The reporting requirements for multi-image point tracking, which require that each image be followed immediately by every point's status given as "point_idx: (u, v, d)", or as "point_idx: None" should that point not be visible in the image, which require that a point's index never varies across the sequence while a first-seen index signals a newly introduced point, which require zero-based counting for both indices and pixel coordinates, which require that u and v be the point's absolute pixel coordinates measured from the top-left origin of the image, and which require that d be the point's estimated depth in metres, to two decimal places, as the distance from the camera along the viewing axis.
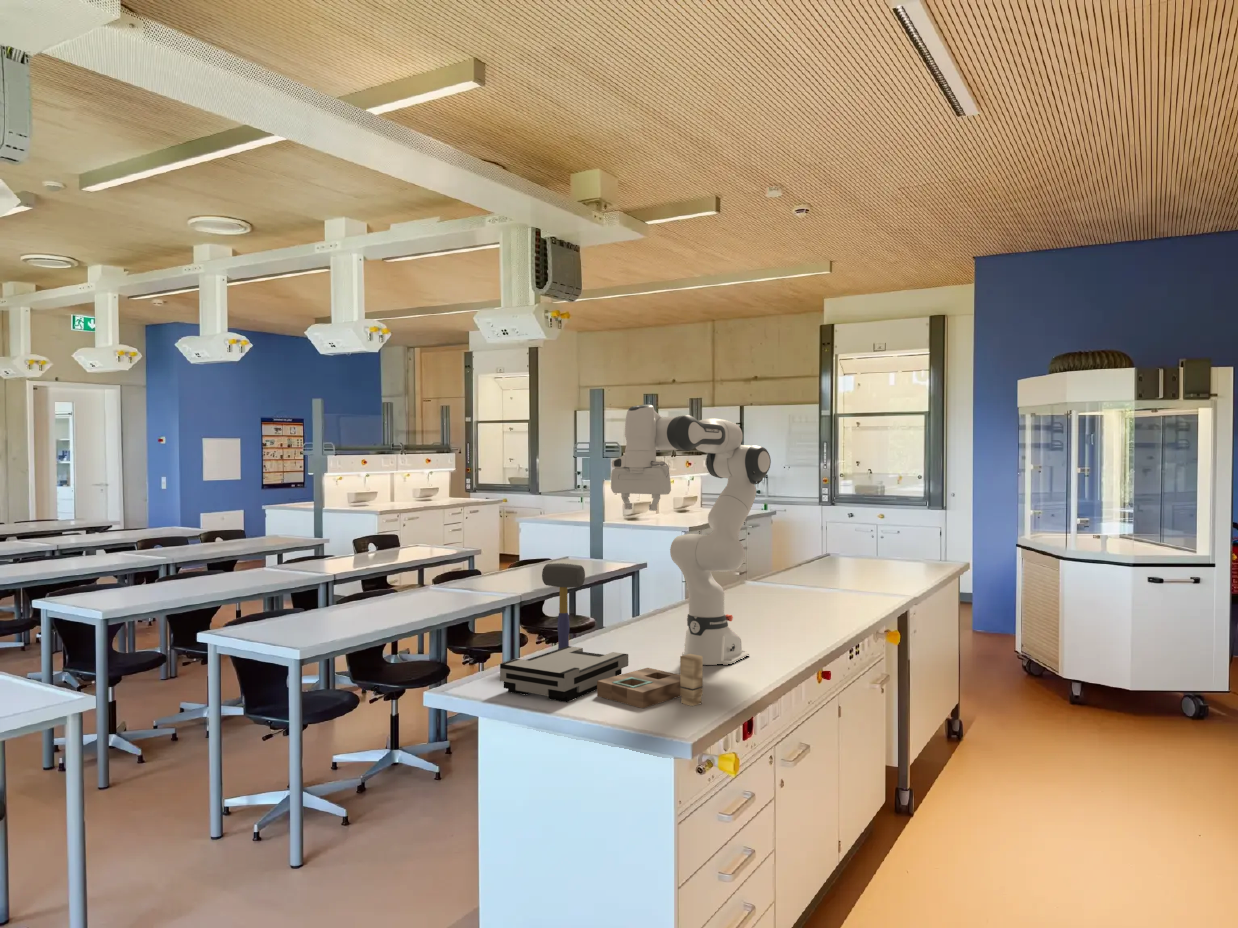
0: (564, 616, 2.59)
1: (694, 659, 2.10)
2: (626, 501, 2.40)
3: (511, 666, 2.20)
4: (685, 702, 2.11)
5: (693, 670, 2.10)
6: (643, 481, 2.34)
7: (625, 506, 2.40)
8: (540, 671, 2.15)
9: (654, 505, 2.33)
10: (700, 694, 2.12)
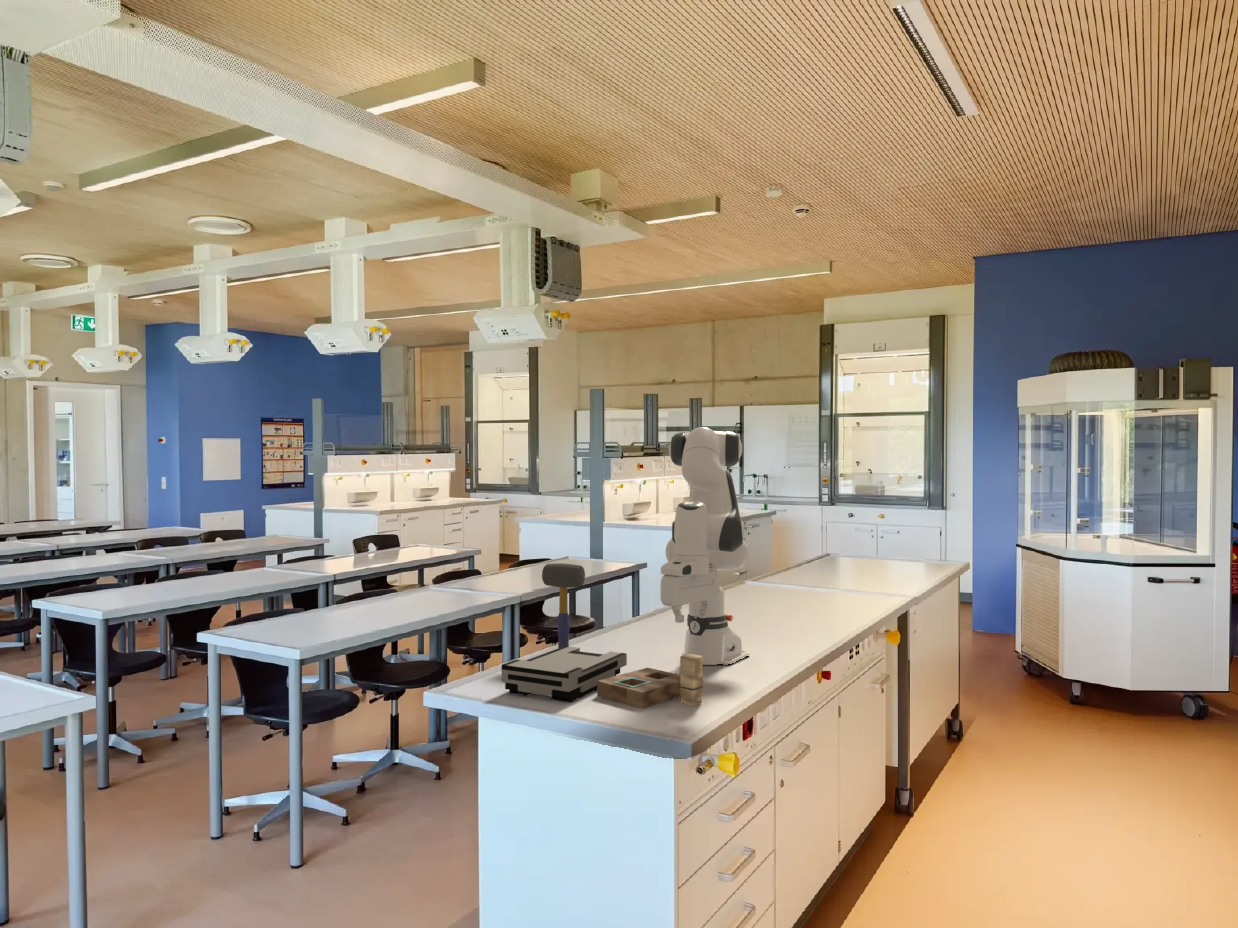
0: (564, 616, 2.59)
1: (694, 659, 2.10)
2: None
3: (513, 667, 2.19)
4: (685, 702, 2.11)
5: (693, 670, 2.10)
6: (703, 587, 2.13)
7: (681, 619, 2.08)
8: (543, 671, 2.14)
9: None
10: (700, 694, 2.12)
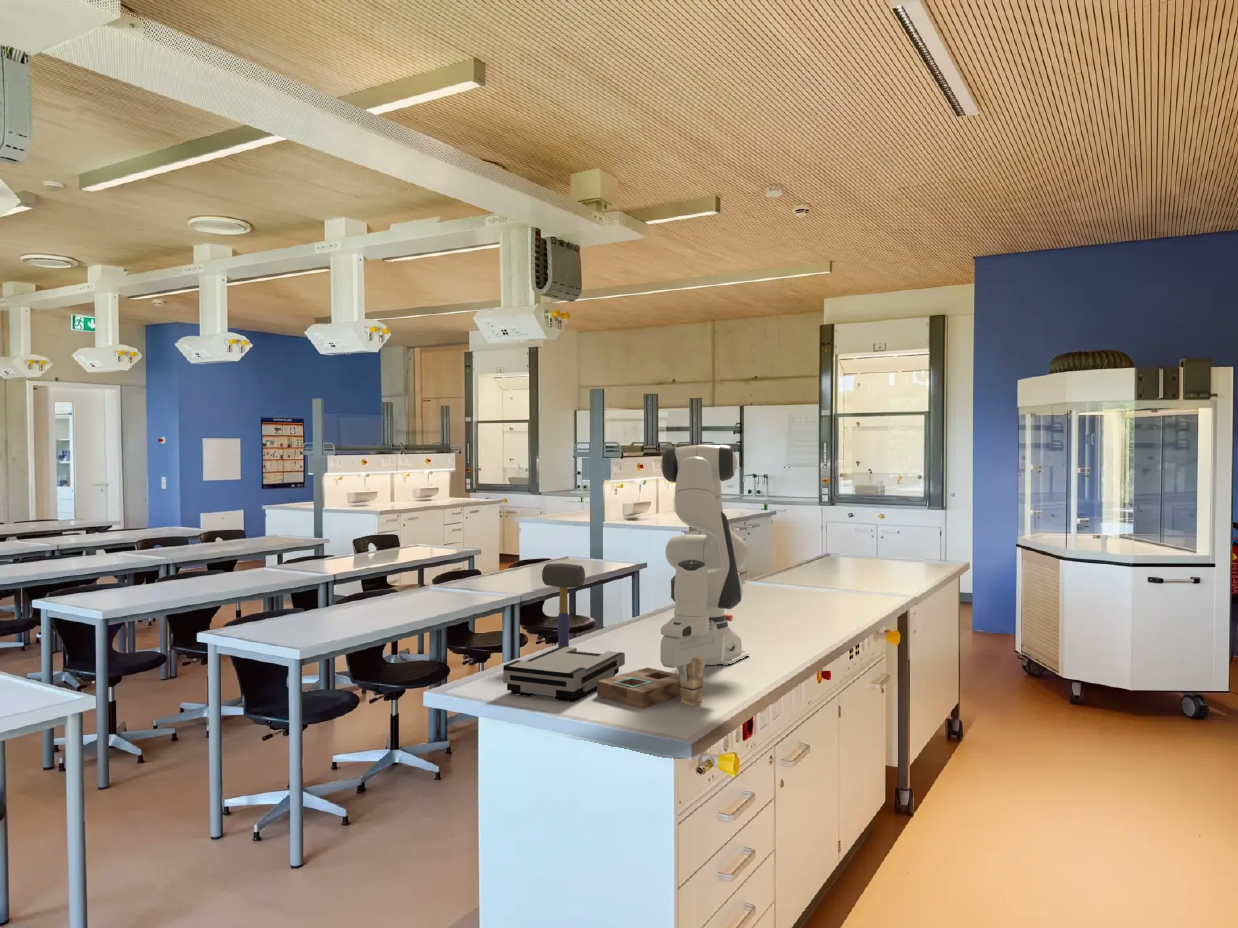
0: (564, 616, 2.59)
1: (694, 659, 2.10)
2: None
3: (515, 668, 2.18)
4: (685, 702, 2.11)
5: (693, 670, 2.10)
6: (703, 646, 2.13)
7: (686, 678, 2.10)
8: (547, 672, 2.14)
9: None
10: (700, 694, 2.12)
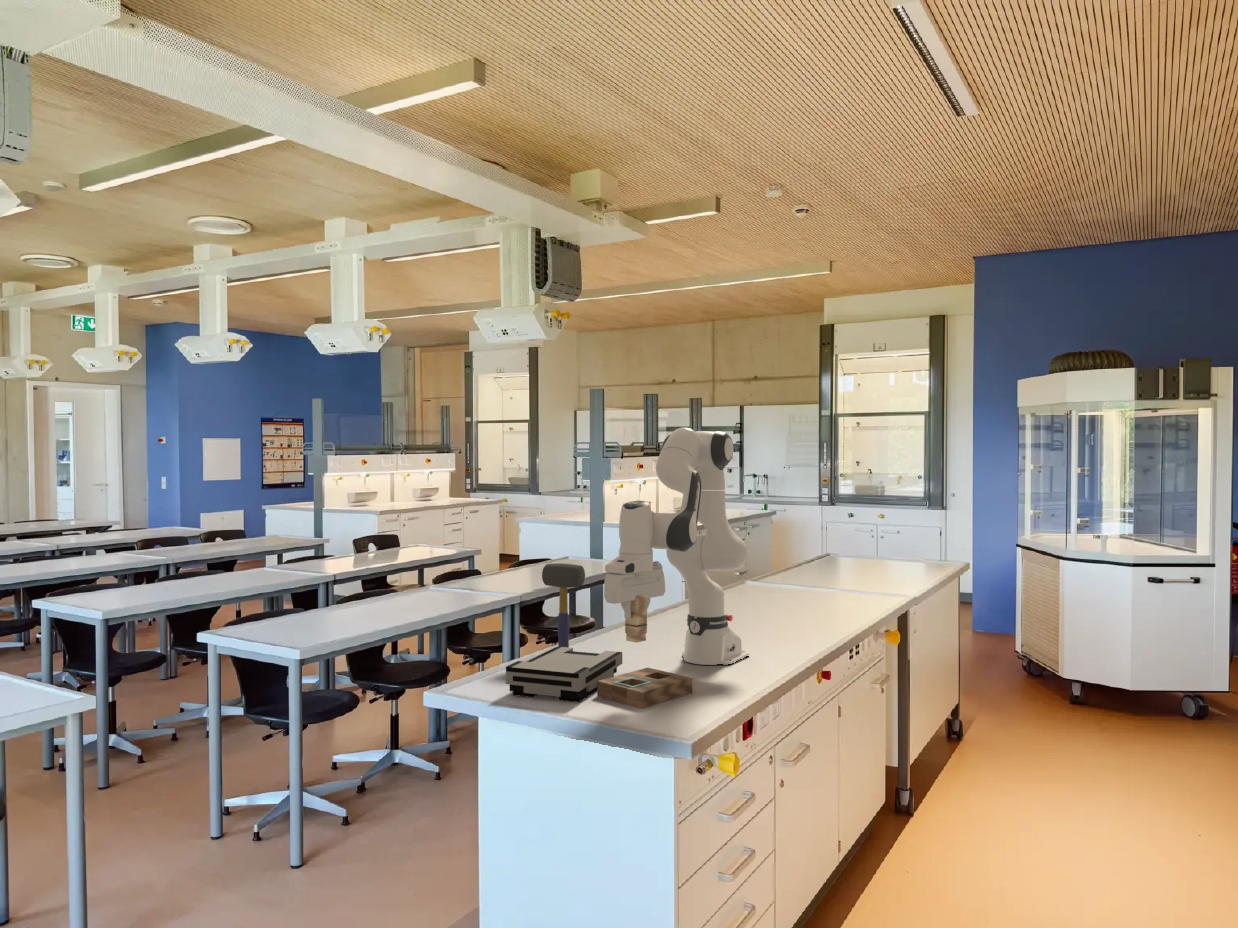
0: (564, 616, 2.59)
1: (638, 596, 2.14)
2: None
3: (519, 668, 2.17)
4: (629, 639, 2.15)
5: (637, 607, 2.14)
6: (647, 584, 2.17)
7: (630, 615, 2.14)
8: (552, 672, 2.13)
9: None
10: (644, 631, 2.16)
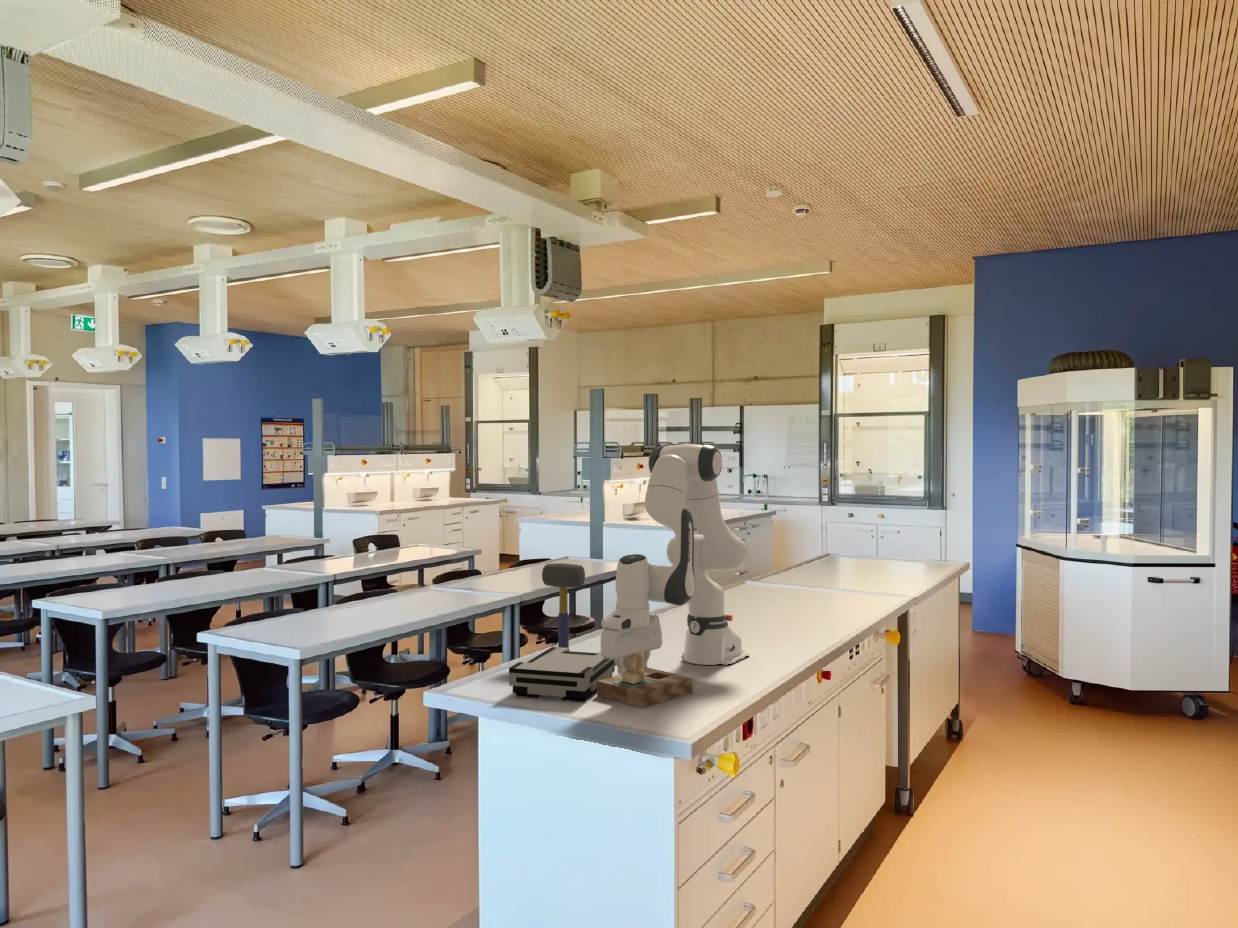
0: (564, 616, 2.59)
1: (635, 655, 2.15)
2: None
3: (522, 669, 2.16)
4: None
5: (634, 665, 2.14)
6: (644, 638, 2.18)
7: (623, 671, 2.13)
8: (556, 672, 2.13)
9: None
10: None
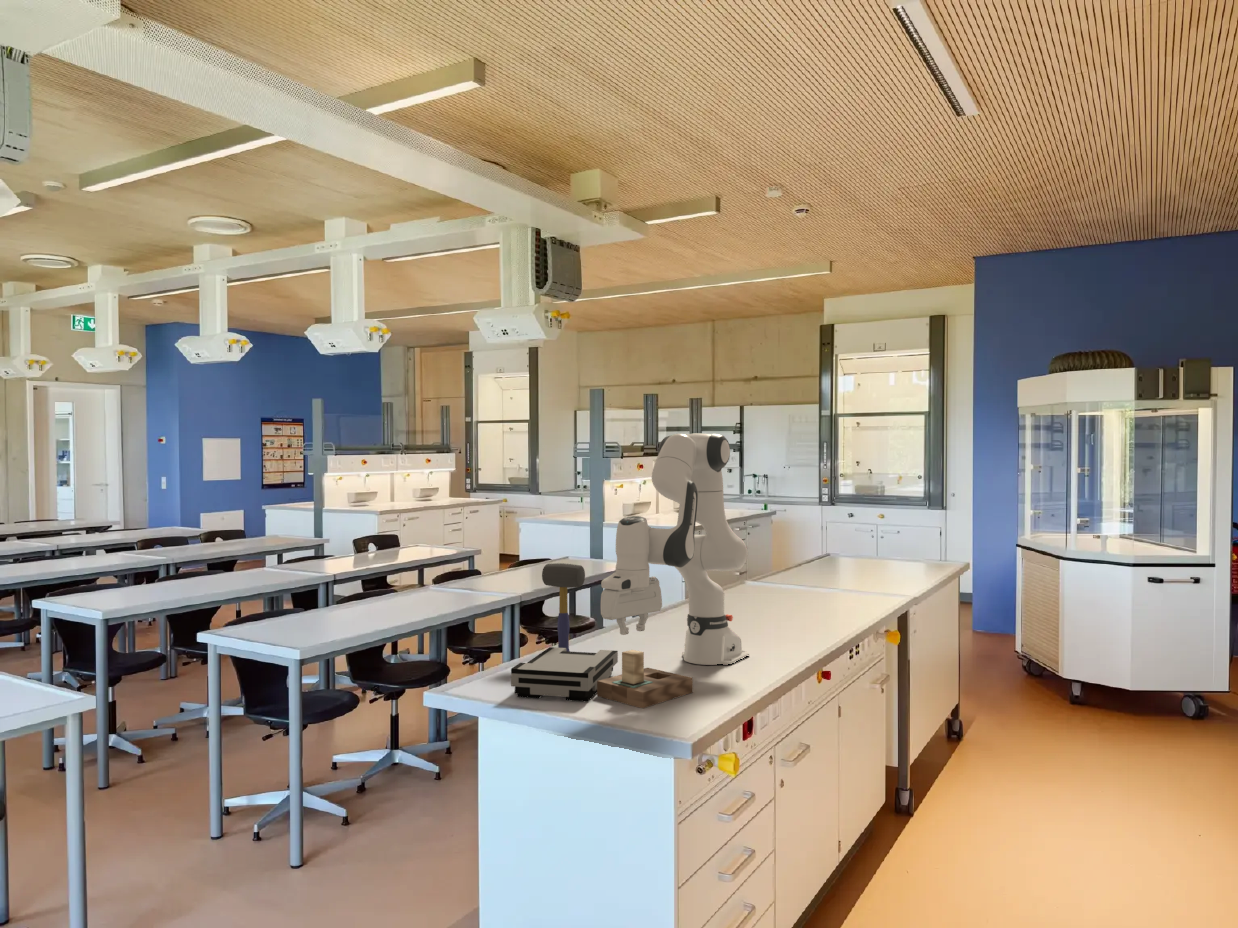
0: (564, 616, 2.59)
1: (635, 655, 2.15)
2: None
3: (525, 670, 2.15)
4: None
5: (634, 665, 2.14)
6: (644, 600, 2.18)
7: (626, 631, 2.14)
8: (560, 673, 2.13)
9: None
10: None
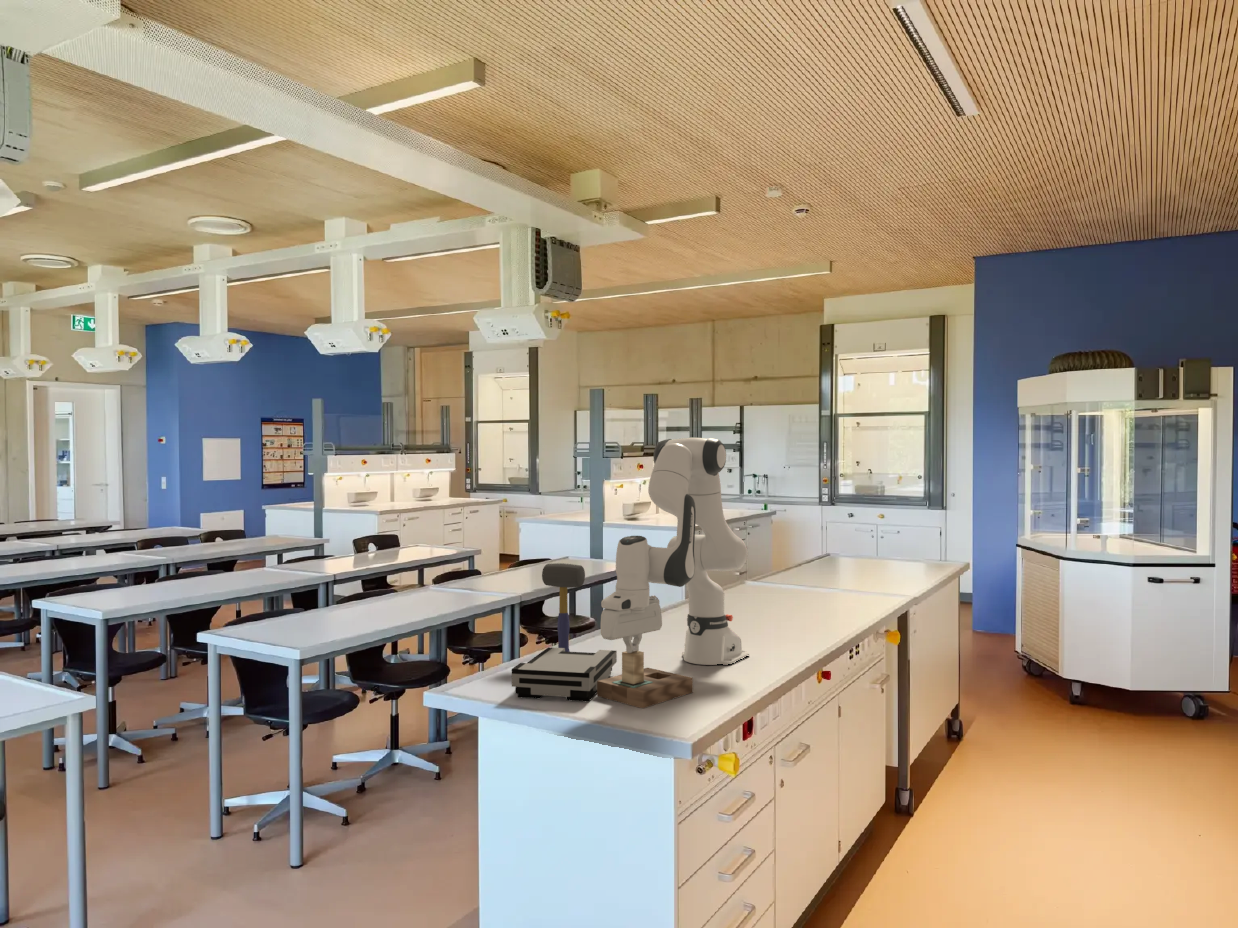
0: (564, 616, 2.59)
1: (635, 655, 2.15)
2: None
3: (525, 670, 2.15)
4: None
5: (634, 665, 2.14)
6: (644, 619, 2.18)
7: (632, 649, 2.15)
8: (561, 673, 2.13)
9: None
10: None
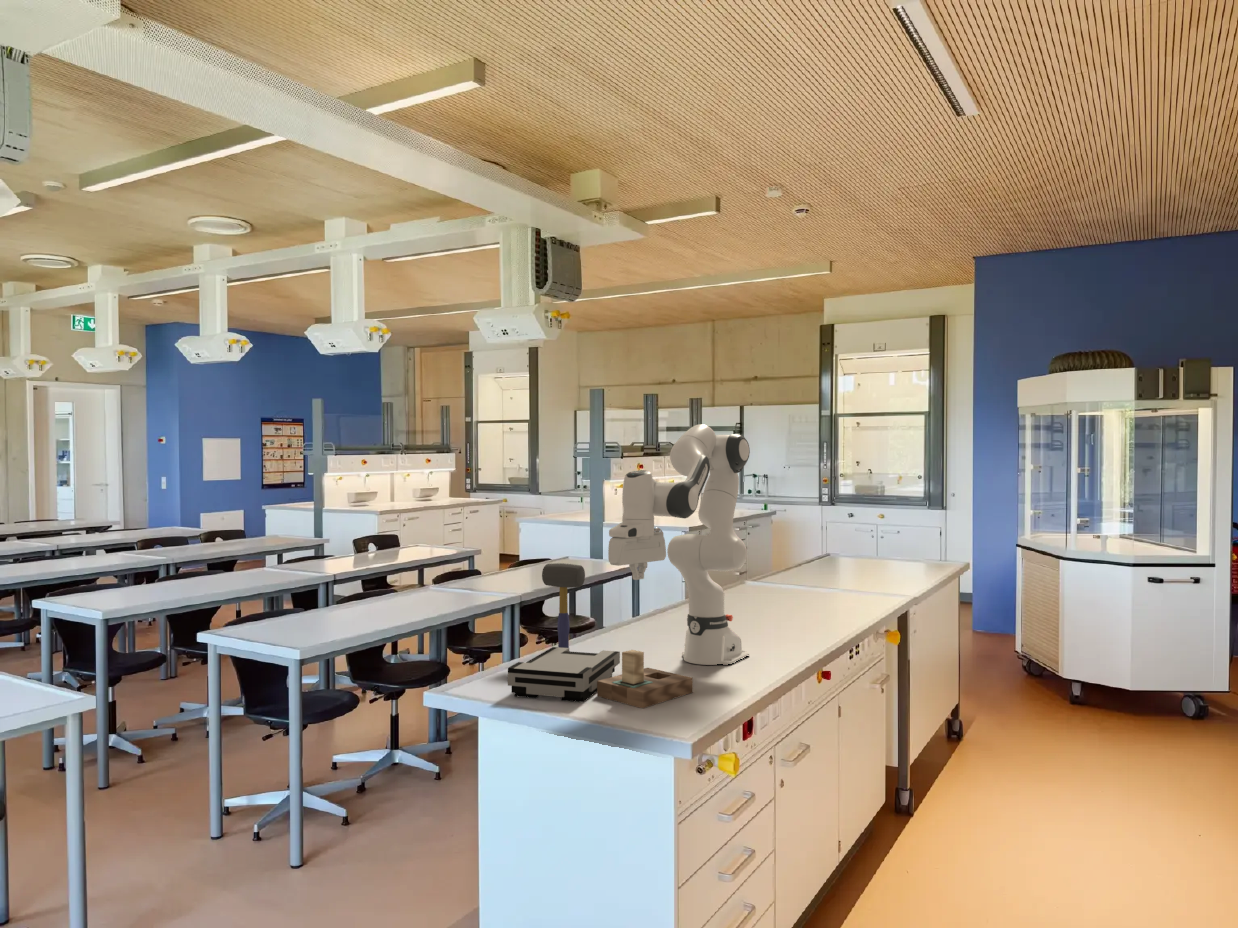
0: (564, 616, 2.59)
1: (635, 655, 2.15)
2: None
3: (521, 670, 2.16)
4: None
5: (634, 665, 2.14)
6: (649, 549, 2.31)
7: (638, 576, 2.29)
8: (555, 673, 2.13)
9: None
10: None
